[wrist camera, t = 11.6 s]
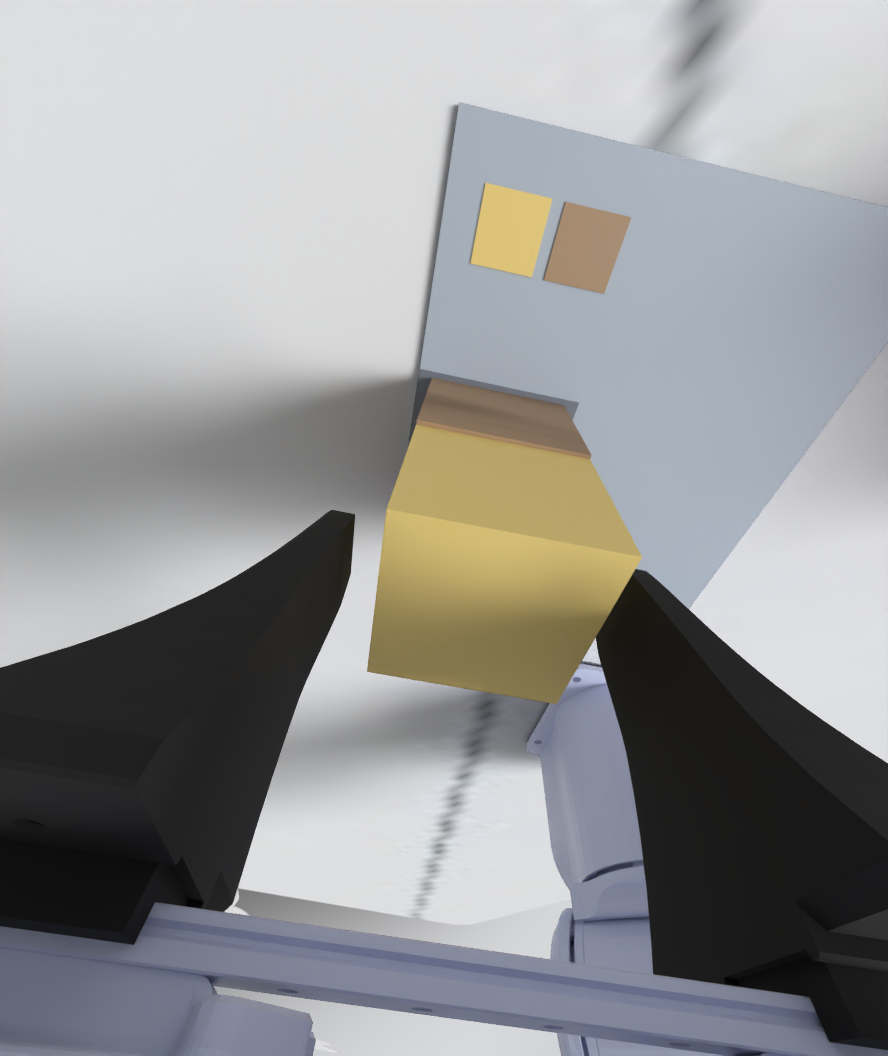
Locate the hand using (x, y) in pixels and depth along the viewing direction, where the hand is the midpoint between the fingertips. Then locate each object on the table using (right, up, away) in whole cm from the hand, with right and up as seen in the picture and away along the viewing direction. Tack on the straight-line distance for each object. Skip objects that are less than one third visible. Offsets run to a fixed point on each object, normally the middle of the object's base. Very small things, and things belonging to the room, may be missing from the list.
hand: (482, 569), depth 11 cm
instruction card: (+5, +4, +6) cm, 9 cm away
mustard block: (0, +2, +2) cm, 2 cm away
